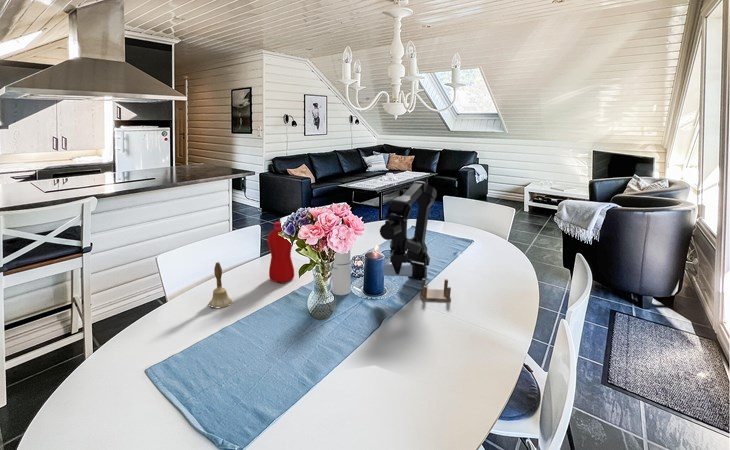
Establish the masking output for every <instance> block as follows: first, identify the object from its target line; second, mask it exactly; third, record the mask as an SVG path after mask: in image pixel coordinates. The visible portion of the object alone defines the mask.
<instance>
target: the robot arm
mask: <svg viewBox="0 0 730 450" xmlns="http://www.w3.org/2000/svg"><path fill="white" fill-rule="evenodd" d="M437 193H438V192H437V189H435V187H434V186H431V185H429V184H428V183H427V182H425V181H418V180H414V181H413V182H412V185H410V187H409V188H408V189H407V190H406V191H405V192H404V193H403V194H402V195H401V196H397V197H395V198H393V199H392V200H391V201H390V202H389V204H388V208H387V210H386V214H385V217H384V219H385V221H384V224H382V225H381V226H380V229H379V234H380V236H381V238H382V239H384V240H386V241H389V248H390V250H389V253H390V255H389V262H390V263H391V264H392V265H393V267H394V270H395V272H396V274H399V273H400V269H401V266H402V265H403V264H409V265H412V277H410V276H407V277H408V278H410V279H415V280H420V281H422V278H423V279H426V277H427V276H428V266H430V262H431V258H430V256H429V254H428V247H427V244H426V241H425V240H426V235H427V227H428V222H429V221H428V220H429V215H430V214H429V213H430V209H431V207H432V206H433V205H434V203H435V200H436V198H437V196H438V194H437ZM414 203H416V205H417V211H416V212H417V213H416V221H415V227H414V234H413V237H412V238H409V237H408V233H407V232H408V220H410V215H411V213H412V211H413V210H412V209H413V207H412V205H413V204H414Z"/></svg>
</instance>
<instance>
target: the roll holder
mask: <svg viewBox="0 0 730 450" xmlns="http://www.w3.org/2000/svg"><path fill="white" fill-rule="evenodd" d="M426 280H427V279H426V278H424V279H423V278H422V280H421V288H420V297H421V300H422V301H429V302H431V301H432V302H451V301H452V298H451V290H452V287H451V286H449V280H448V279H444V282H443V283H444V284H443V289H437V288H436V289H435V288H434V289H433V288H431V289H430V288H428V286H427V285H426Z"/></svg>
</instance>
